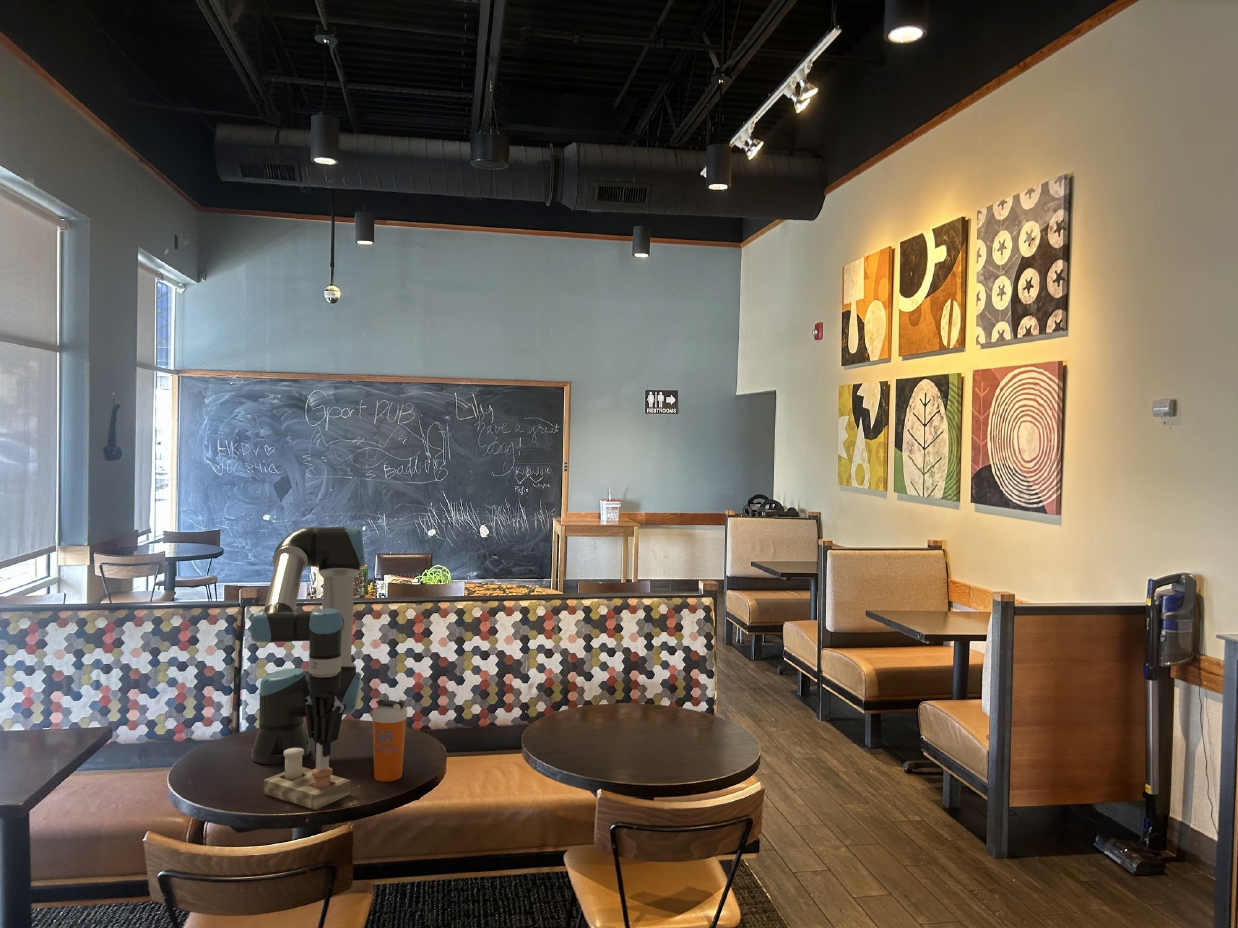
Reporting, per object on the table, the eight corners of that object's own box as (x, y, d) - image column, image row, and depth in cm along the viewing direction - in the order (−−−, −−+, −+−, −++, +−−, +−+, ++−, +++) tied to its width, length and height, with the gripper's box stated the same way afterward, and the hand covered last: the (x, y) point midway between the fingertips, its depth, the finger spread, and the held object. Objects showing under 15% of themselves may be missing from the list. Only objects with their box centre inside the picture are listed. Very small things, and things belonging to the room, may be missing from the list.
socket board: (263, 793, 211) (264, 779, 210) (299, 779, 220) (299, 765, 220) (315, 809, 202) (316, 795, 202) (350, 793, 212) (350, 780, 212)
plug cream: (278, 778, 212) (279, 751, 212) (294, 772, 217) (294, 746, 217) (292, 782, 210) (292, 755, 210) (307, 776, 215) (308, 749, 214)
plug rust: (306, 798, 208) (307, 771, 208) (322, 792, 212) (322, 765, 212) (320, 803, 206) (321, 775, 206) (335, 796, 210) (336, 769, 210)
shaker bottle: (374, 770, 228) (376, 696, 228) (408, 770, 229) (410, 696, 228) (367, 783, 219) (369, 706, 219) (402, 783, 220) (404, 706, 220)
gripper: (293, 672, 208) (291, 767, 209) (332, 680, 202) (329, 778, 203) (317, 666, 215) (315, 758, 215) (355, 673, 209) (353, 768, 209)
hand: (322, 768), depth 209 cm, fingers closed
